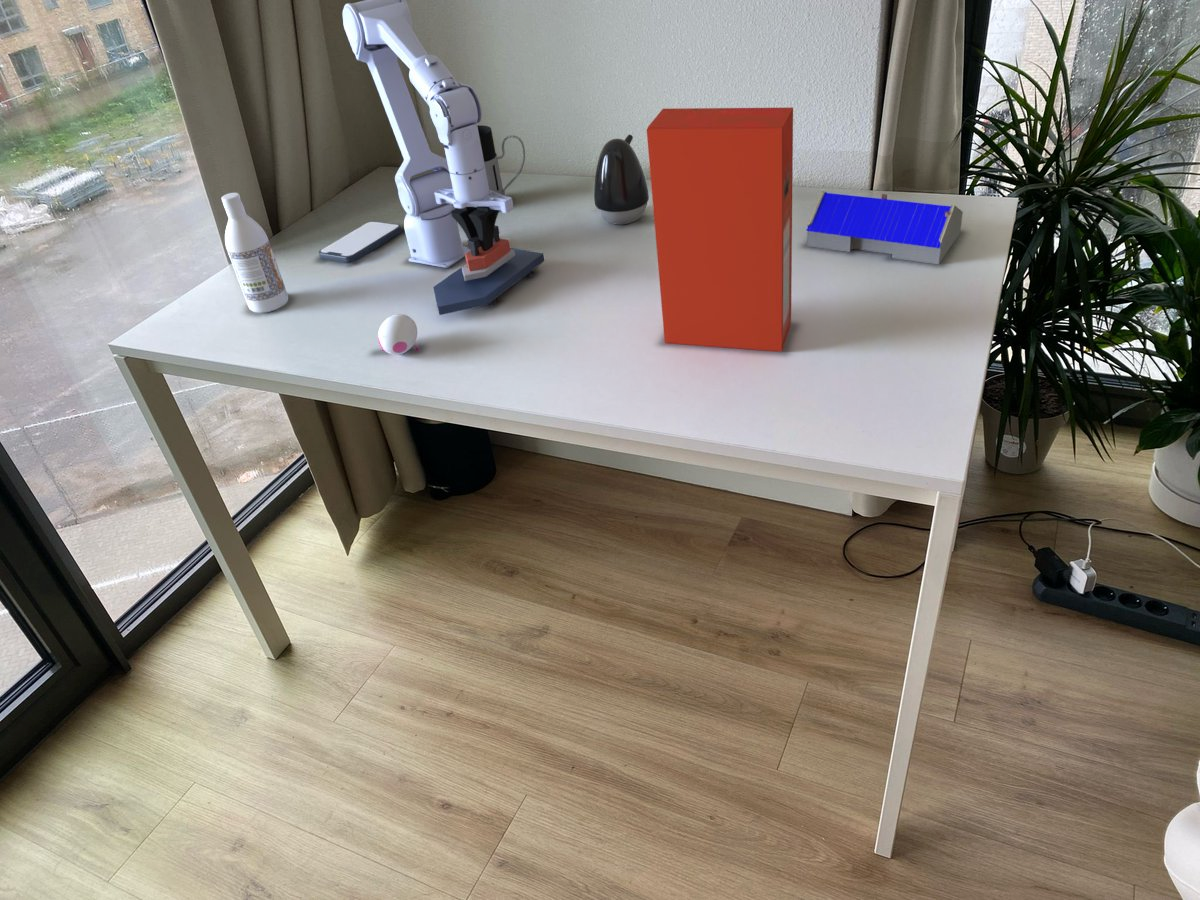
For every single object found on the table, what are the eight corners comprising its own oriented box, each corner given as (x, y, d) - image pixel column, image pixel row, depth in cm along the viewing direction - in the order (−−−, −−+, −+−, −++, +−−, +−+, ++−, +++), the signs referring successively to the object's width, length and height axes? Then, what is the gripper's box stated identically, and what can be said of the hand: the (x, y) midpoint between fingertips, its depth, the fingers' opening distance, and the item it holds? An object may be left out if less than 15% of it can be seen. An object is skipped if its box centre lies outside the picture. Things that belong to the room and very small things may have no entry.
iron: (492, 251, 162) (486, 221, 158) (515, 255, 159) (510, 224, 156) (453, 278, 155) (446, 247, 151) (477, 283, 152) (470, 251, 149)
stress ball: (400, 357, 150) (369, 328, 147) (434, 329, 147) (403, 299, 144) (389, 381, 144) (356, 351, 141) (424, 352, 141) (391, 321, 138)
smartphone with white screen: (371, 227, 188) (317, 260, 177) (369, 220, 187) (314, 252, 176) (405, 232, 184) (352, 265, 173) (403, 224, 183) (349, 257, 172)
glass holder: (471, 197, 195) (456, 125, 186) (537, 194, 192) (525, 120, 183) (460, 214, 188) (444, 140, 179) (528, 211, 185) (516, 135, 176)
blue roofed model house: (961, 231, 156) (966, 189, 152) (937, 266, 147) (942, 222, 143) (835, 215, 167) (836, 176, 163) (805, 247, 158) (806, 206, 154)
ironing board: (416, 317, 154) (411, 301, 152) (496, 260, 168) (493, 244, 166) (468, 329, 148) (464, 312, 147) (546, 268, 163) (543, 252, 161)
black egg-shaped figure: (660, 211, 178) (654, 131, 169) (633, 233, 171) (625, 151, 162) (615, 205, 183) (607, 127, 174) (586, 226, 176) (576, 146, 167)
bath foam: (292, 306, 162) (254, 196, 150) (252, 318, 160) (211, 207, 148) (285, 291, 168) (248, 184, 156) (246, 302, 165) (205, 195, 154)
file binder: (781, 353, 132) (782, 127, 113) (664, 344, 138) (646, 127, 119) (791, 325, 138) (793, 106, 119) (678, 318, 143) (663, 107, 124)
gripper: (416, 173, 148) (434, 251, 156) (488, 181, 141) (503, 263, 149) (443, 157, 153) (460, 234, 161) (514, 165, 146) (528, 245, 154)
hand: (482, 247), depth 155 cm, fingers closed on iron
